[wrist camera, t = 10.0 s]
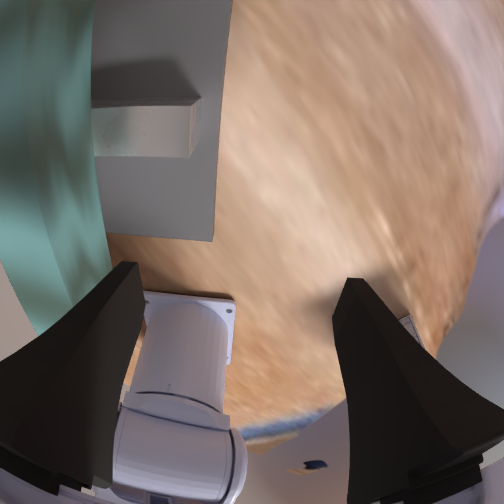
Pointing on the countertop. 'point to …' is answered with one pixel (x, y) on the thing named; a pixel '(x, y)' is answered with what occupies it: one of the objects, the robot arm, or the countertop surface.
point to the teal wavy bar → (48, 158)
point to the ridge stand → (158, 113)
